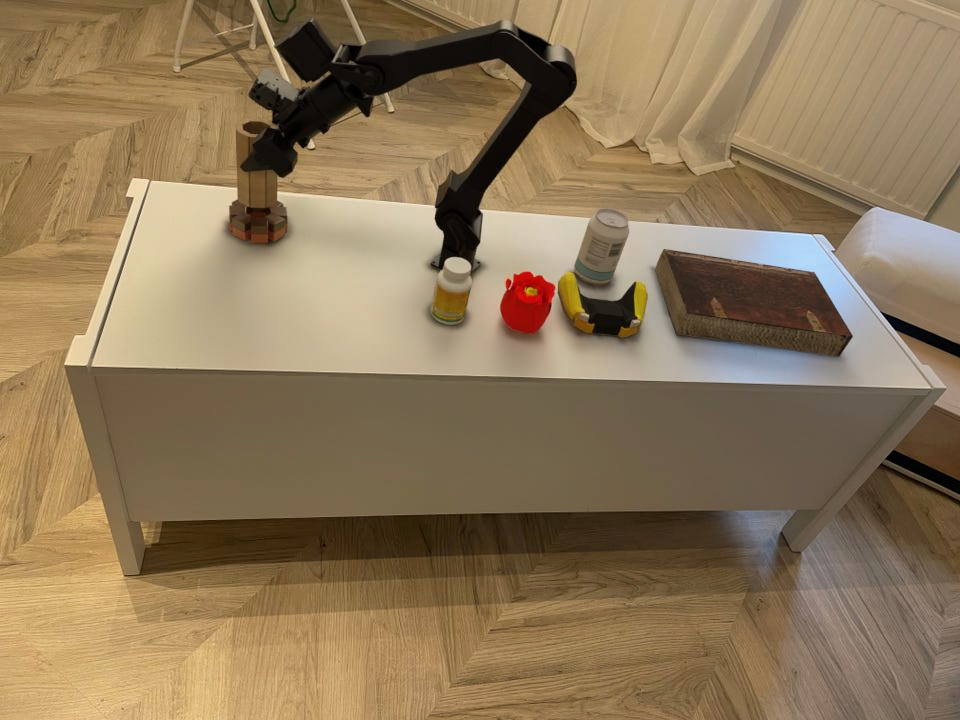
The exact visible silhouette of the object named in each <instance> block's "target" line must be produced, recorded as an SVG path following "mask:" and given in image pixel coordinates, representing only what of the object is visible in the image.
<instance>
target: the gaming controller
mask: <svg viewBox="0 0 960 720" xmlns="http://www.w3.org/2000/svg"><path fill="white" fill-rule="evenodd" d="M557 296H558V299H559V302H560V306H561V309H562V311H563V313H564V314H565V316H566V318H567V319H568V321H569V322H570V323H571V324H572V326H573V327H575V328H577V329H579V330H580V331H583V332H584V333H587V334H596V335H597V334H598V335H605V336H615V337H619V338H622V339H623V338H626V337H630V336H633V335H634V334H636V333H637V332H638V331H639V330H640V328H641V326H642V324H643V322H644V317H645V314H646V309H647V304H648V300H649V295H648V291H647V287H646V284H645V283H643V282H641V281H638V280H635V281H634V282H633V283H632V284H631V285H630V286H629V288H628V289H627V290H626V291H625V292H624V294H623V296H621V298H619V299H617V300H608V299H602V298H601V299H600V298H594V297H593V298H592V297H587V296H585V295H584V294H583V293H582V292H581V290H580V287H579V284H578V281H577V278H576V275H575V273H573V272H571V271H569V272H566V273H565V274H563V275H562V276H561V277H560V278H559V279H558V281H557Z"/></svg>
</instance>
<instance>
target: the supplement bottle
mask: <svg viewBox="0 0 960 720" xmlns="http://www.w3.org/2000/svg"><path fill="white" fill-rule="evenodd" d="M470 272H471V265H470V263H469V262H468V261H467V260H465V259H463V258H459V257H451V258H448V259H447V260H446V261H445V263H444V267H443V270H439V271H438V274H437V275H436V279H435V284H434V290H433V296H432V300H431V305H430V314H431V316H432V318H433V319H434V320H436V321H437V322H439V323H440V324H444V325H450V326H451V325H457V324H459V323H461V322H462V321H463V320H464V319H465V317H466V312H467V308H468V303H469V299H470V295H471V291H472V287H473V279H472V277H471V274H470Z"/></svg>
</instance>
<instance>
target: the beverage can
mask: <svg viewBox="0 0 960 720" xmlns="http://www.w3.org/2000/svg"><path fill="white" fill-rule="evenodd" d="M629 223H630V222H629V218H628V217H627V216H626V215H625V214H624V213H623V212H621V211H619V210H616V209H613V208H600V209H598V210H597V211H596V212H595V214H594V215H592V216H591V217H590V218H589V220H588V223H587V226H586V229H585V232H584V235H583V238H582V240H581V244H580V247H579V251H578V252H577V257H576V259H575V263H574V265H573V269H574V272H575V273H576V275H577V276H578V277H579V278H580V279H581V280H582V281H583V282H585V283H587V284H591V285H596V286H597V285H601V284H606V283H609V282H611V281H612V280H613V277H614V275H615V273H616V270H617V267H618V264H619V261H620V259H621V257H622V253H623V252H624V248H625V246H626V243H627V240H628V238H629V235H630V226H629Z"/></svg>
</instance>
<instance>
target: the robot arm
mask: <svg viewBox="0 0 960 720" xmlns="http://www.w3.org/2000/svg"><path fill="white" fill-rule="evenodd" d="M273 48H274V49H275V50H276V51H277V52H278V54H279V55H280V56H281V57H282V58H283V60H284V61H285V62H286V64H287V65H288V66H289V67H290V68H291V70H292V71H293V72H294V73H295V74H296V76H297V77H298V78H299V79H300V81H304V82H305V83H306V84H308V83H310V82H311V83H315V82H317V81H318V82H317V83H315V84H314V85H313V86H310V85H308V86H306V85H304V86H303V87H301V88H299V87H295V86H294V85H293V84H292V83H291V82H290V81H288V80H287V79H285V78H284V77H282V76H280V75H279V74H277V73H275V72H274V71H273V70H271V69H270V68H266V67H263V68H262V69H261V71H260V72H259V73H258V75H257V76H256V78H255V80H254V82H253V84H252V86H251V88H250V90H249V92H248V94H247V96H248V97H249V99H250V100H252V101H253V102H254V103H255V104H257V105H259V106H260V107H261V108H263V109H265V110H266V111H271V112H272V113H271V114H272V116H271V122H272V123H274V124H276V125H277V129H278V130H277V129H274V128H269V127H267V128H266V129H264V130H263V131H262V132H260V131H259V133H258V135H257V136H256V138H255V140H254V142H253V144H252V146H253V149H254V151H253V152H252V153H251V154H250V155H249V156H248V157H247V158H246V159H245V161H244V162H243V163H242V164H241V165H240V168H241V169H242V170H243V171H244V172H252V171H265V170H273V171H274V172H275V173H276V174H277V177H279V178H280V179H284V178H286V177H287V176H289V175H290V174H292V173H293V172H294V169H295V168H296V165H297V163H298V159H299V156H298V155H299V152H298V151H297V150H296V149H295V148H294V147H295V145H296V143H297V144H298V145H299V146H300V148H301V149H305V148H306V147H308V145H309V144H310V143H311V140H312V139H313V138H315V137H316V136H317V135H319V134H320V133H321V134H322V135H326V133H328V132H330V129H331V127H332V125H333V124H335V123H336V122H338V121H339V120H340V119H342V118H344V117H345V116H346V115H348V114H349V113H350V112H352V111H353V110H355V109H356V108H358V109H359V111H360V112H361V113H362V115H363V116H364V117H365V118H369V117H371V114H372V111H373V110H374V101H375V97H379V96H382V95H385V94H387V93H390V92H392V91H395V90H397V89H399V88H401V87H403V86H404V85H407V84H408V83H409V82H411V81H412V80H414V79H416V78H418V77H421V76H425V75H430V74H434V73H440V72H445V71H448V70H452V69H456V68H462V67H466V66H472V65H476V64H481V63H485V62H489V61H490V62H491V61H494V60H495V61H496V60H500V61H502V62H504V63H505V64H507V66H509V67H510V68H511V69H512V70H513V71H514V72H515V73H517V75H518V76H520V77H521V78H522V79H523V80H524V84H523V86H522V88H521V92H520V94H519V96H518V98H517V99H516V101H515V102H514V104H513V105H512V107H511V108H509V111H508V112H507V113H506V114H505V115H504V117H503V119H501V122H500V123H499V124H498V126H497V127H496V129H495V130H493V132H492V133H491V135H490V137H489V138H488V140H487V141H486V142H485V143H484V145H483V146H482V148H481V149H480V150H479V152H478V153H477V155H476V156H475V157H474V159H473V160H472V161H471V163H470V164H469V166H468V167H466V169H465V170H463V171H462V172H459V173H457V172H456V171H454V169H450V171H449V173H448V175H447V176H446V179H445V180H444V181H443V183H441V184H439V185H438V186H437V192H436V196H435V197H436V198H435V201H434V209H435V213H434V217H433V218H434V221H435V225H436V227H437V228H438V229H439V230H440V231H441V232H442V234H443V237H442V238H443V239H442V244H441V248H440V254H438V255H437V256H436V257H434V258H433V259H432V260H431V261H430V264H429V265H430V266H431V267H433V268H435V269H437V270H439V271H441V270H443V267H444V263H445V261H446V260H447V259H448V258H451V257H459V258H463V259H465V260H467V261H468V262H469V263H470V265H471V272H470V275H472V274H473V273H474V272H475V271H477V270H478V269H479V268H480V267H481V266H482V261H480V260H478V259H476V254H477V249H478V247H479V245H480V244H481V241H482V240H481V239H482V229H483V218H484V214H483V212H482V211H481V209H480V206H481V203H482V200H483V198H484V195H485V193H486V191H487V190H488V188H489V187H490V186H491V184H492V183H493V182H494V180H496V178H497V176H498V175H499V174H500V173H501V171H502V170H503V169H504V167H505V166H506V165H507V164H508V163H509V161H510V159H511V158H512V157H513V156H514V155H515V153H516V152H517V151H518V149H519V148H520V146H521V145H522V144H523V142H524V141H525V140H526V138H528V136H529V135H530V133H531V132H532V131H533V130H534V128H535V127H536V125H537V124H538V123H539V122H540V121H541V120H542V119H544V118H545V117H547V116H550V115H551V114H553V113H554V112H556V111H557V110H558V109H559V108H560V107H561V106H562V105H563V104H565V103H566V101H568V99H570V98H571V97H572V96H573V94H574V92H575V91H576V89H577V85H578V77H577V67H576V60H575V56H574V54H573V52H572V51H570V49H568V47H566V46H564V45H562V44H561V45H559V44H551V43H550V42H548V40H545V39H544V38H542V37H541V36H539V35H537V34H535V33H532V32H529V31H527V30H526V29H523V28H521V27H520V26H518V25H517V24H515V23H514V22H513V21H511V20H508V19H500V20H498V21H496V22H495V23H491V24H487V25H482V26H479V27H473V28H469V29H465V30H461V31H456V32H450V33H448V34H443V35H439V36H434V37H429V38H424V39H421V40H420V39H419V40H413V41H411V40H410V41H407V40H402V39H397V38H396V39H395V38H390V39H373V40H369V41H367V42H365V43H364V44H358V43H339V44H338V46H336V45H335V44H334V43H333V42H332V41H331V39H330V38H329V37H328V36H327V34H326V33H325V32H324V30H323V28H322V26H321V25H320V23H319V21H317V19H316V18H315V17H314V16H310V18H308V19H307V20H304V21H302V22H301V23H299V24H298V23H297V24H296V25H294V26H293V27H292V28H290V29H289V30H288V31H287V32H286V33H284V34H283V35H282V36H281V37H280V38H279V40H277V41H276V42H275V44H274V45H273ZM352 62H353V63H352ZM327 73H329V74H328V75H326V74H327ZM324 75H326V76H325V77H324V78H322V77H323V76H324ZM321 78H322V79H321ZM320 79H321V80H320ZM319 80H320V81H319Z"/></svg>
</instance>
